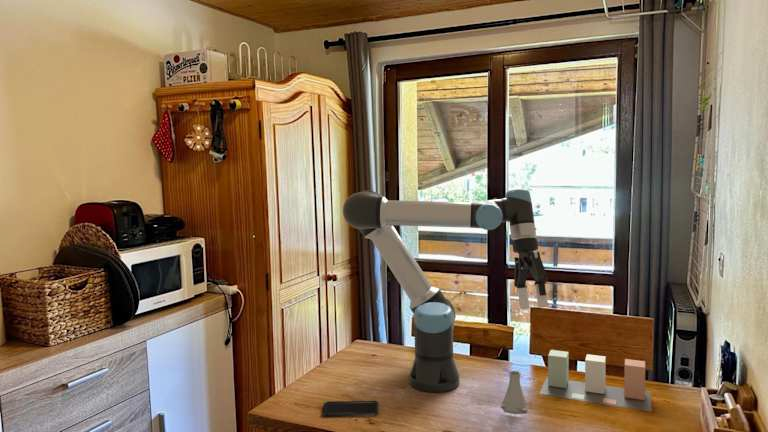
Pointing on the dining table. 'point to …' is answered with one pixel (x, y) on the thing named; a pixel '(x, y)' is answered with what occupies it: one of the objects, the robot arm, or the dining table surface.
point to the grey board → (597, 395)
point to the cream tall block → (595, 373)
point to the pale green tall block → (558, 368)
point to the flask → (514, 395)
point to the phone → (350, 409)
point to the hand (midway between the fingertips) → (533, 308)
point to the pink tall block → (634, 379)
